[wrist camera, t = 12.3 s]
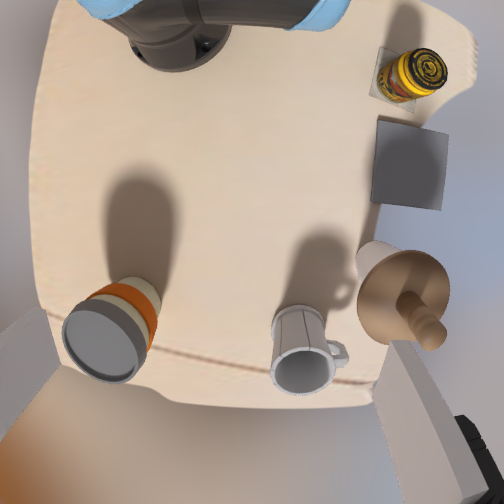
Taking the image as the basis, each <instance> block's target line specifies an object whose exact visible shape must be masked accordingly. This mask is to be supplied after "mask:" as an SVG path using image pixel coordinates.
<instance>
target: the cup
mask: <svg viewBox="0 0 504 504" xmlns="http://www.w3.org/2000/svg"><path fill="white" fill-rule="evenodd" d="M271 336H272V339H273V341H274V346H273V355H272V362H271V369H270V378H271V380H272V382H273V384H274V385H275V386H276V387H277V388H278V389H279V390H280V391H282V392H285V393H287V394H290V395H295V396H297V394H298V396H306V395H310V394H314V393H317V392H319V391H321V390H322V389H324V388H325V387H326V386H328V385H329V384H330V383H331V381H332V380H333V378H334V376H335V372H336V368H343V367H345V366H346V365H347V363H348V361H349V355H348V353H347V351H346V348H345V346H344V345H343V344H341V343H339V342H337V341H332V340H326V338H325V324H324V320H323V317H322V316H321V315H320V313H319V312H318V311H317V310H315V309H314V308H312V307H310V306H306V305H293V306H290V307H286V308H285V309H283V310H282V311H280V312H279V313H278V314H277V315H276V316H275V318H274V319H273V322H272V325H271ZM331 352H333V353H334V354H336V355H332V354H331Z"/></svg>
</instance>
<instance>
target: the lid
mask: <svg viewBox="0 0 504 504" xmlns="http://www.w3.org/2000/svg"><path fill="white" fill-rule="evenodd" d="M449 296H450V284H449V278H448V275H447V273H446V271H445V269H444V268H443V266H442V265H441V264H440V263H439V262H438V261H437V260H436V259H434V258H433V257H432V256H430V255H429V254H427V253H425V252H421V251H416V250H405V251H400V252H397V253H394V254H392V255H389V256H388V257H386V258H384V259H383V260H381V261H380V262H379V263H377V264H376V265H375V266H374V267H373V268H372V269H371V271H370V272H369V273H368V274H367V276H366V277H365V279H364V281H363V283H362V285H361V287H360V290H359V293H358V297H357V313H358V317H359V320H360V322H361V325H362V327H363V328H364V330H365V332H366V333H367V334H368V335H369V336H370V337H371V338H372V339H374V340H375V341H377V342H379V343H382V344H385V345H389V344H390V340H410V342H413V341H416V340H417V341H418V342H419V344H420V345H421V347H422V348H423V349H424V350H426V351H432V350H435V349H437V348H439V347H440V346H441V345H442V344H443V343H444V341H445V339H446V337H447V330H446V328H445V327H444V326H443V324H442V323H441V322H440V321H439V320H440V319H441V317H442V315H443V314H444V312H445V310H446V307H447V304H448V300H449Z"/></svg>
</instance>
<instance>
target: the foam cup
mask: <svg viewBox="0 0 504 504" xmlns="http://www.w3.org/2000/svg"><path fill="white" fill-rule="evenodd" d="M400 251H402V250H400V249H397V248H395V247H393V246H391V245H389V244H387V243H384V242H381V241H371V242H368V243H366V244H365V245H364V246H362V247H361V248H360V249H359V251H358V253H357V255H356V260H355V266H356V270H357V274H358V277H359V281H360V284H361V285H362V283H363V281H364V279H365V277H366V276H367V274H368V273H369V272H370V271H371V269H372V268H373V267H374V266H375V265H376V264H377V263H379V262H380V261H381V260H383V259H384V258H386V257H388V256H389V255H392V254H394V253H397V252H400Z"/></svg>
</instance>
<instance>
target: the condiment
mask: <svg viewBox="0 0 504 504" xmlns="http://www.w3.org/2000/svg"><path fill="white" fill-rule="evenodd" d="M447 75H448V71H447V67H446V65H445V63H444V61H443V60H442V58H441V57H440V56H439V55H438V54H437V53H436V52H434V51H432V50H430V49H427V48H420V49H416V50H414V51H408V52H406V53H403V54H402V55H398V54H397V53H394V52H392V51H389V50H387V49H385V48H382V47H380V49H379V54H378V59H377V64H376V68H375V72H374V76H373V81H372V85H371V89H370V94H369V95H370V96H372V97H375V98H377V99H380V100H382V101H385V102H387V103H390V104H392V105H395V106H397V107H400V108H402V109H405V110H407V111H409V112H412V113H413V112H414V107H415V102H416V99H417V98H421V97H424V96H428V95H430V94H432V93H433V92H435V91H436V90H437V89H440V88H441V87H442V86H443V85H444V84H445V82H446V81H447Z"/></svg>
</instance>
